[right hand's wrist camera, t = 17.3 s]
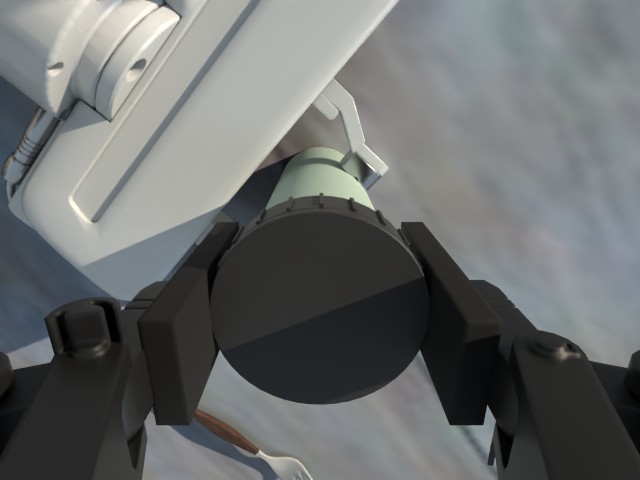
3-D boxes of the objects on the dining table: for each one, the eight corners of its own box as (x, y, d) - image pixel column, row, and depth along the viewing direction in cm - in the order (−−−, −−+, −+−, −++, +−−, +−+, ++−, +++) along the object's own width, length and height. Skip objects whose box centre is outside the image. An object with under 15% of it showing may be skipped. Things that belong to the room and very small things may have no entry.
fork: (179, 379, 30) (170, 398, 28) (326, 478, 34) (327, 500, 32) (160, 399, 31) (150, 418, 29) (307, 493, 35) (306, 516, 33)
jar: (356, 224, 26) (399, 377, 12) (281, 222, 26) (234, 373, 12) (361, 148, 24) (418, 220, 10) (280, 145, 24) (225, 215, 10)
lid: (354, 150, 10) (361, 160, 9) (450, 316, 12) (470, 349, 11) (180, 258, 12) (158, 284, 10) (292, 395, 13) (288, 436, 12)
